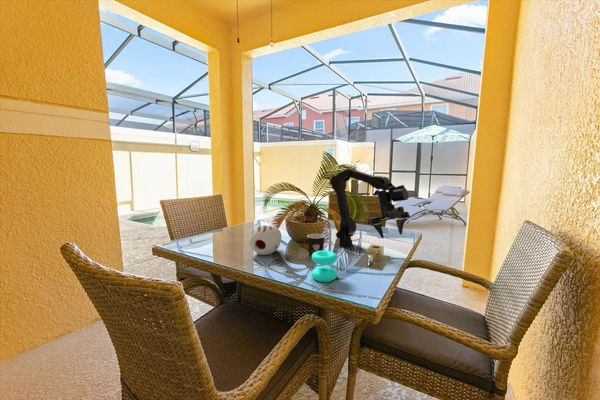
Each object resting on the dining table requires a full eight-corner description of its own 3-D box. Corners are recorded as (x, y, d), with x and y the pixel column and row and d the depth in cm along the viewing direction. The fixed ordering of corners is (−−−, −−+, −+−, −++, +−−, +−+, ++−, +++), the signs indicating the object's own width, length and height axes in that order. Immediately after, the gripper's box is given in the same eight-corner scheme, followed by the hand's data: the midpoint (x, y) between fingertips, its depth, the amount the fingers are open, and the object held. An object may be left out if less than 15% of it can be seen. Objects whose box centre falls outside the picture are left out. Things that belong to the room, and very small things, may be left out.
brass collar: (380, 260, 124) (381, 249, 124) (367, 258, 127) (367, 247, 127) (383, 256, 130) (383, 246, 129) (370, 254, 133) (370, 244, 132)
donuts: (329, 248, 115) (342, 255, 106) (328, 271, 116) (341, 280, 107) (307, 251, 111) (318, 259, 102) (307, 275, 112) (318, 284, 103)
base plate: (382, 274, 113) (382, 261, 112) (353, 269, 118) (353, 256, 118) (390, 259, 130) (391, 248, 130) (365, 255, 136) (365, 244, 135)
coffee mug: (326, 254, 137) (327, 234, 136) (320, 259, 130) (321, 239, 128) (305, 251, 142) (305, 232, 141) (298, 256, 135) (298, 236, 133)
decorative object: (287, 248, 147) (286, 221, 145) (274, 260, 129) (274, 229, 127) (260, 246, 151) (259, 219, 149) (244, 257, 133) (243, 227, 131)
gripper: (374, 205, 119) (381, 241, 118) (413, 198, 122) (420, 233, 122) (364, 207, 130) (370, 239, 129) (400, 200, 133) (406, 232, 133)
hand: (391, 236), depth 128 cm, fingers open, 9 cm apart
